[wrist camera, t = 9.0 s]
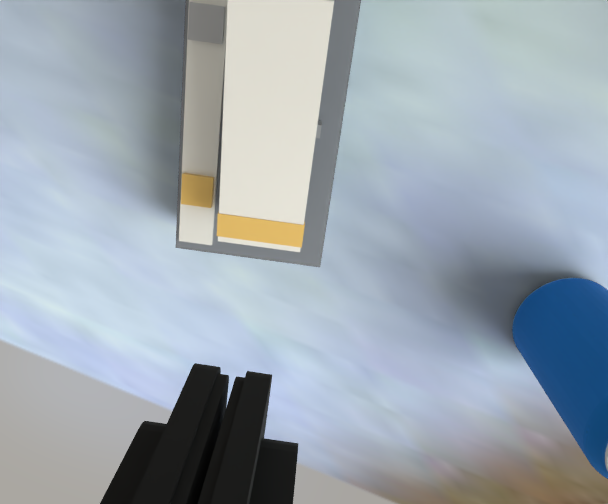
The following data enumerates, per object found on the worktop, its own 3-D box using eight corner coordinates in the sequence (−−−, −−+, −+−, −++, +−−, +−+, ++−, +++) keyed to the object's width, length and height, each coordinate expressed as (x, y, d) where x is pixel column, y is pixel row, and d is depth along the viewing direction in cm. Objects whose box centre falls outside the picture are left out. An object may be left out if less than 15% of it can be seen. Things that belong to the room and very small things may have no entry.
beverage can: (600, 361, 35) (730, 511, 23) (502, 360, 35) (584, 507, 24) (621, 272, 32) (777, 392, 21) (515, 271, 32) (614, 389, 21)
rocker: (335, -3, 21) (335, 1, 19) (303, 234, 27) (300, 253, 25) (235, -17, 21) (226, -14, 19) (224, 223, 26) (216, 241, 25)
